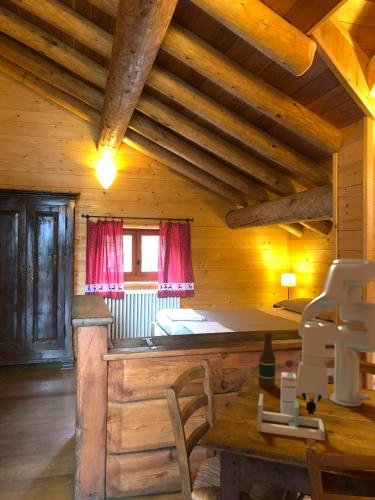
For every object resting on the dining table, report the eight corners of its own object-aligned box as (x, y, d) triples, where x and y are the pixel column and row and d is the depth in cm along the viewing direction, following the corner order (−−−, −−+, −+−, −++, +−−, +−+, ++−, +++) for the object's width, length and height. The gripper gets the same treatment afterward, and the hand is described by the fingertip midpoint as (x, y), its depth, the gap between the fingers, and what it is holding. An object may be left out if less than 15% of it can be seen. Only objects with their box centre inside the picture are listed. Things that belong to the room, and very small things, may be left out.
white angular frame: (321, 425, 137) (322, 400, 137) (324, 440, 127) (325, 413, 126) (259, 417, 142) (259, 393, 142) (257, 431, 132) (258, 405, 132)
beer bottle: (262, 389, 172) (264, 335, 172) (254, 382, 179) (256, 331, 179) (278, 387, 174) (279, 335, 174) (269, 381, 181) (271, 331, 181)
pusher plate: (297, 424, 137) (298, 399, 137) (298, 434, 130) (299, 408, 130) (288, 423, 138) (289, 398, 138) (289, 433, 131) (289, 406, 131)
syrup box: (296, 416, 145) (297, 377, 145) (280, 414, 146) (281, 376, 146) (295, 409, 150) (296, 373, 150) (279, 408, 152) (280, 371, 151)
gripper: (334, 359, 134) (332, 412, 134) (290, 355, 138) (288, 406, 138) (337, 365, 127) (335, 420, 127) (291, 360, 131) (288, 414, 130)
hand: (310, 413), depth 132 cm, fingers closed
